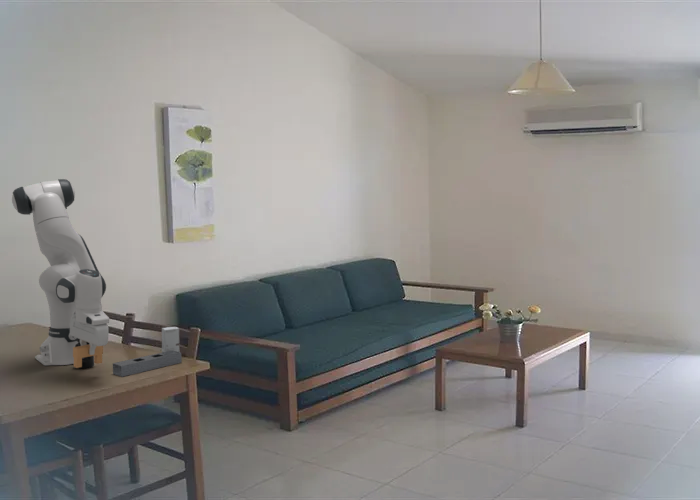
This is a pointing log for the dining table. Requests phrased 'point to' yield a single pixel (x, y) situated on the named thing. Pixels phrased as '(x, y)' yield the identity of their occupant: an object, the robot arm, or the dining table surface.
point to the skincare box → (170, 339)
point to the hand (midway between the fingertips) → (88, 353)
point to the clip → (86, 354)
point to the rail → (146, 363)
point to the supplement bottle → (86, 359)
